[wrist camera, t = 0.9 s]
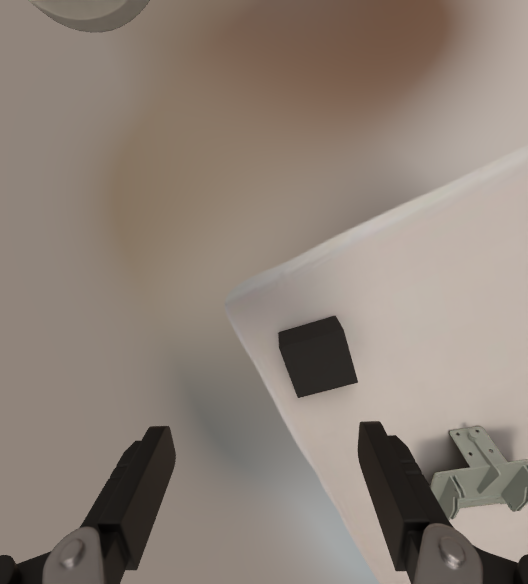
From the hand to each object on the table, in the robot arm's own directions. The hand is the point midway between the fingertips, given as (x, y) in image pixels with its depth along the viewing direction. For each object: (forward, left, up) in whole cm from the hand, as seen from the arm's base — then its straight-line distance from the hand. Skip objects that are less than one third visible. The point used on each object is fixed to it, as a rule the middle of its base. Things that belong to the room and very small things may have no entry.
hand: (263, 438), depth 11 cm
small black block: (+6, +3, -16) cm, 17 cm away
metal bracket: (+28, +16, -16) cm, 36 cm away
